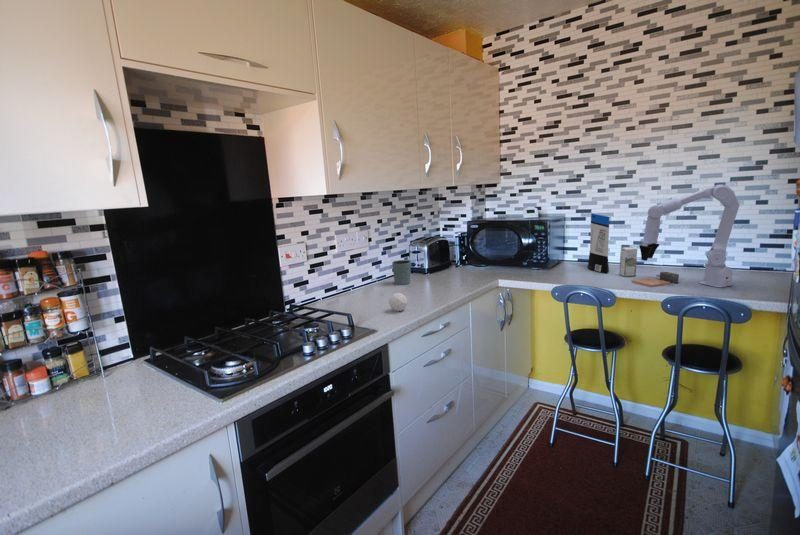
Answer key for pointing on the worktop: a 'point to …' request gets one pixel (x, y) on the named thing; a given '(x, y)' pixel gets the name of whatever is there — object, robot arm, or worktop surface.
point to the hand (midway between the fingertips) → (646, 259)
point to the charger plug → (669, 277)
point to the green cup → (401, 272)
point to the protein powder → (599, 244)
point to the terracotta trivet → (650, 282)
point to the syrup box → (628, 261)
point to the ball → (398, 302)
